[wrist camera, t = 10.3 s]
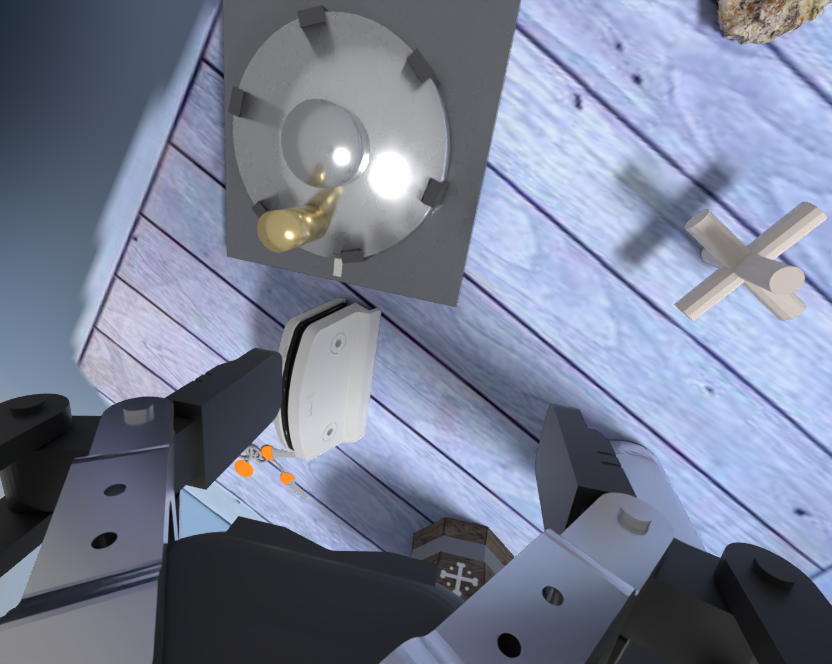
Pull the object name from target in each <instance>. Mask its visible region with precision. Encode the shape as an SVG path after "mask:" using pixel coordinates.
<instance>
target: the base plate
mask: <svg viewBox="0 0 832 664" xmlns="http://www.w3.org/2000/svg"><path fill="white" fill-rule="evenodd" d="M520 3H521V0H223V34H224V99H225V164H226V229H227V257H232V258H236V259H241V260H245V261H250V262H254V263H259V264H263V265H268V266H272V267H277V268H282V269H286V270H291V271H295V272H300V273H304V274H309V275H313V276H318V277H322V278H327V279H331V280H336V281H340V282H345V283H349V284H354V285H358V286H363V287H367V288H372V289H376V290H381V291H385V292H390V293H394V294H399V295H403V296H408V297H412V298H417V299H421V300H426V301H431V302H435V303H440V304H444V305H449V306H453V307H456V306H457V303H458V299H459V294H460V289H461V285H462V280H463V275H464V270H465V266H466V261H467V256H468V252H469V247H470V242H471V237H472V233H473V228H474V223H475V218H476V214H477V209H478V204H479V199H480V195H481V190H482V185H483V181H484V176H485V171H486V166H487V162H488V157H489V152H490V147H491V143H492V138H493V133H494V129H495V124H496V119H497V114H498V110H499V105H500V100H501V95H502V91H503V86H504V81H505V77H506V72H507V67H508V62H509V58H510V53H511V48H512V43H513V39H514V34H515V29H516V24H517V20H518V15H519V10H520ZM320 5H323V6H324V7H325V8H326V9H327V10H328V11H330V12H345V13H351V14H356V15H359V16H362V17H365V18H368V19H371V20H373V21H375V22H377V23H379V24H380V25H382V26H384V27H386V28H387V29H389V30H390V31H391V32H393V33H394V34H395V35H397V36H398V37H399V38H400V39H401V40H402V41H403V42H404V43H405V44H406V45H407V46H408V47H409V48H410V49H411V50H412V51H414V50H415V49H417V48H418V50H419V51H420V52H421V54H422V55H423V57H424V58H425V59H426V61H427V63H428V64H429V66H430V67H431V69H432V70H433V72H434V73H435V75H436V76H437V78H438V80H439V81H440V83H439V84H438V85H437V87H438V90H439V92H440V94H441V97H442V99H443V102H444V105H445V109H446V113H447V116H448V122H449V129H450V148H451V150H450V160H449V167H448V172H447V176H446V180H445V181H446V182H448V183H449V184H448V187H447V189H446V191H445V194H444V196H443V198H442V201H441V203H440V205H439V206H437V207H435V208H433V209H432V211H431V212H430V214H429V215H428V217H427V218H426V219H425V220H424V221H423V222H422V223H421V225H420V226H419V227H418V228H417V229H416V230H414V231H413V232H412V233H411V234H410V235H409V236H407V237H406V238H404V239H403V240H401V241H399V242H398V243H396V244H395V245H393V246H391V247H390V248H388V249H385V250H383V251H381V252H379V253H377V254H375V255H374V256H373V257H371V258H369V259H368V260H366V261H364V262H355V263H343V264H342V259H336V258H328V257H324V256H320V255H316V254H314V253H311V252H309V251H306V250H304V249H302V248H300V247H296V248H293V249H290V250H287V251H284V252H273V251H271V250H269V249H267V248H266V247H265V246H264V245H263V244H262V242H261V241H260V239H259V236H258V233H257V224H258V221H259V218H258V216H257V215H256V214H255V212H254V211H253V210H252V209H251V208H252V207H253V206H254V203H253V201H252V199H251V197H250V196H249V194H248V192H247V190H246V188H245V185H244V183H243V180H242V178H241V175H240V172H239V168H238V165H237V161H236V156H235V150H234V142H233V114H231V113H229V112H228V109H229V104H230V99H231V94H232V89H233V86H235V87H238V88H239V85H240V83H241V80H242V77H243V75H244V72H245V70H246V68H247V67H248V65H249V63H250V61H251V59H252V58H253V56H254V55H255V54H256V52H257V51H258V49H259V48H260V47H261V45H262V44H263V43H264V42H265V41H266V40H267V39H268V38H269V37H270V36H271V35H272V34H274V33H275V32H276V31H278V30H279V29H280V28H282V27H283V26H285V25H286V24H288V23H290V22H292V21H294V20H296V19H298V13H297V11H300V10H304V9H308V8H312V7H316V6H320Z"/></svg>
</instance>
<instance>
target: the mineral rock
mask: <svg viewBox="0 0 832 664" xmlns="http://www.w3.org/2000/svg"><path fill="white" fill-rule="evenodd" d="M716 1H717V2H718V4H719V8H718V10H717V11H716V12H717V20H718V23H719V24H720V29H721V30H722V31H723V32H724V35H725V36H726V37H727V39H734V40H737V41H738V42H739V43H740V44H741V45H742V44H744V43H754V44H759V43H760V44H763V45H764V44H766V43H768V42H771V41H772V40H773V39H775V38H777V37H778V36H780V35H782V34H784V33H790V32H792V31H794V30H795V29H797V28H799V27H800V26H801V24H802V23H806V22H809V21H811V20H814V19H816V18H817V17H818V16H820V14H821V13H822V12H823V9H824V7H825V6H826V5H828V4H829V3H831V2H832V0H716Z"/></svg>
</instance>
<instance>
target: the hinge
mask: <svg viewBox="0 0 832 664" xmlns="http://www.w3.org/2000/svg"><path fill="white" fill-rule="evenodd" d="M345 301H346V299H345V298H335V299H333V300H331V301H328V302H326V303H324V304H322V305H319V306H317V307H315V308H313V309H310V310H308V311H306V312H304V313H302V314H299V315H297V316H295V317H293V318H291V319H290V320H289V321H288V322H287V324H286V326H285V329H284V332H283V335H282V338H281V341H280V345H279V349H278V352H279V353H280V354H281V356H282V361H283V365H282V402H281V407H280V410H279V413H278V415H277V416H276V418H275V419H274V423H275V428H276V431H277V434H278V437H279V439H280V442H281V444H282V445H283V446H284V447H285V448H286V449H287V450H288V451H295V454H296V456H297V457H300V458H302V459H305V460H312V459H314V458H315V457H317V456H319V455H321V454H323V453H324V452H326V451H328V450H330V449H332V448H333V447H335V446H337V445H339V444H341V443H354V442H357V441H358V440H359V439H361V438H362V437H363V436H365V430H366V422H367V415H368V407H369V400H370V393H371V385H372V378H373V370H374V363H375V355H376V348H377V340H378V333H379V325H380V318H381V309H379V308H375V309H372V310H367V309H366V308H364V307H362V306H361V305H359V304H358V303H356V302H355V303H353V304H350V305H348V306H347V303H345Z"/></svg>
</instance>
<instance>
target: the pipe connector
mask: <svg viewBox="0 0 832 664" xmlns="http://www.w3.org/2000/svg"><path fill="white" fill-rule="evenodd" d="M826 217H827V216H826V215H825V214H824V212H823V211H822V210H820V209H819V208H818V207H816V206H815V205H813V204H811V203H808V202H802V203H800V204H799V205H798V206H796V207H795V208H794V209H793V210H791V211H790V212H789V213H788V214H786V215H785V216H784V217H783V218H781V219H780V220H779V221H778V222H776V223H775V224H774V225H773V226H771V227H770V228H769V229H768V230H766V231H765V232H764V233H763V234H761V235H760V236H759V237H758V238H756V239H755V240H754V241H753V242H751V243H750V244H749V245H748V246H745V245H744V244H743V243H742V242H741V241H740V240H739V239H738V238H737V237H736V236H735V235H734V234H733V233H732V232H731V231H730V230H729V229H728V228H727V227H726V226H725V225H724V224H723V223H722V222H721V221H719V220H718V219H717V218H716V217H715V216H714V215H713V214H712V213H711V212H710V211H709V210H708V209H706V210H703V211H701V212H699V213H697V214H696V215H695V216H693V217H692V218H691V219H690V220H689V221H688V222H687V223H686V225H685V226H684V228H685V229H686V230H687V231H688V232H689V233H690V234H691V235H692V236H693V237H694V238H695V239H696V240H697V241H698V242H699V243H700V244H701V245H702V246H703V247H704V248H703V250H702V252H701V258H702V260H703V261H704V262H705V263H707V264H710V265H712V266H714V267H716V268H719V269H718V270H716V271H715V272H714V273H713V274H711V275H710V276H709V277H708V278H706V279H705V280H704V281H703V282H701V283H700V284H699V285H698V286H696V287H695V288H694V289H693V290H691V291H690V292H689V293H688V294H686V295H685V296H684V297H683V298H681V299H680V300H679V301H678V302H676V303H675V304H674V305H675V306H676V307H677V308H678V309H680V310H681V311H682V312H683V313H684V314H685V315H686V316H687V317H688V318H690V319H691V320H692V321H694V320H695V319H697V318H698V317H699V316H700V315H702V314H703V313H704V312H706V311H707V310H708V309H710V308H711V307H712V306H714V305H715V304H716V303H717V302H719V301H720V300H721V299H723V298H724V297H725V296H727V295H728V294H729V293H731V292H732V291H733V290H734V289H736V288H737V287H738V286H740V285H741V284H743V285H744V286H745V287H746V288H747V289H748V290H749V291H750V292H751V293H752V294H753V295H754V296H755V297H756V298H757V299H758V300H759V301H760V302H761V303H762V304H763V305H764V306H766V307H767V308H768V309H769V310H770V311H771V312H772V313H773V314H774V315H775V316H776V317H777V318H778V319H779V320H784V321H785V320H790V319H793V318H795V317H797V316H799V315H800V314H801V313H802V312H803V311H804V310H805V308H806V305H805V303H804V302H803V301H802V300H801V299H800V298H799V297H797V296H796V295H795V294H794V292H796V291H798V290H799V289H800V288H801V286H802V285H803V283H804V279H805V276H804V273H803V272H802V270H800V269H799V268H796V267H793V266H790V265H787V264H784V263H781V262H778V261H775V260H774V259H775V258H776V257H778V256H779V255H780V254H782V253H783V252H784V251H785V250H787V249H788V248H789V247H791V246H792V245H793V244H795V243H796V242H797V241H799V240H800V239H801V238H802V237H804V236H805V235H806V234H808V233H809V232H810V231H812V230H813V229H814V228H816V227H817V226H818V225H819V224H821V223H822V222H823V221H825V220H826Z"/></svg>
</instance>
